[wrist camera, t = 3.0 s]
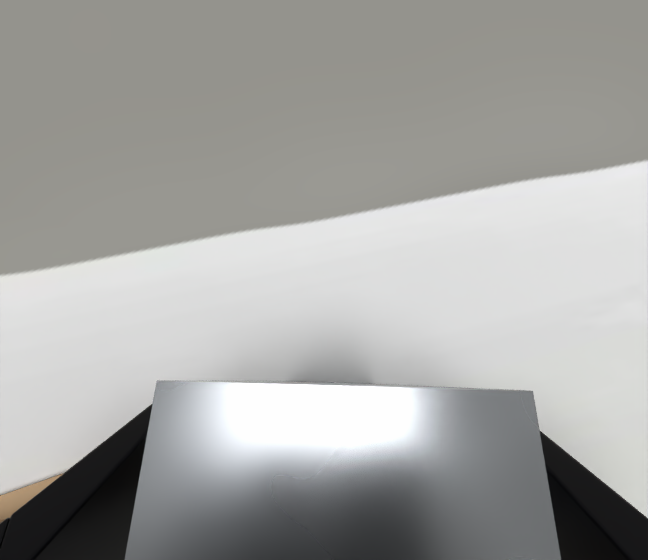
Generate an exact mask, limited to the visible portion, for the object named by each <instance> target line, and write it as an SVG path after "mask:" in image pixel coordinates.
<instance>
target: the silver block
mask: <svg viewBox="0 0 648 560" xmlns="http://www.w3.org/2000/svg"><path fill="white" fill-rule="evenodd" d="M125 560H561V556H560V550H559V544H558V538H557V532H556V526H555V520H554V514H553V508H552V502H551V496H550V490H549V484H548V478H547V473H546V467H545V461H544V455H543V449H542V443H541V437H540V431H539V425H538V419H537V413H536V407H535V401H534V395H533V391H524V390H502V389H480V388H457V387H435V386H412V385H390V384H362V383H326V382H289V381H157V383H156V388H155V394H154V399H153V405H152V410H151V416H150V421H149V427H148V432H147V438H146V443H145V449H144V455H143V460H142V466H141V471H140V477H139V482H138V488H137V493H136V499H135V504H134V510H133V515H132V521H131V527H130V532H129V538H128V543H127V549H126V554H125Z"/></svg>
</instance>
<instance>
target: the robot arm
mask: <svg viewBox="0 0 648 560" xmlns="http://www.w3.org/2000/svg"><path fill="white" fill-rule="evenodd" d="M152 405H153V404H151V405H150V406H149V407H147V408H146V409H145V410H144V411H142V412H141V413H140V414H139V415H137V416H136V417H135V418H133V419H132V420H131V421H130V422H128V423H127V424H126V425H125V426H123V427H122V428H121V429H120V430H118V431H117V432H116V433H114V434H113V435H112V436H111V437H109V438H108V439H107V440H106V441H104V442H103V443H102V444H100V445H99V446H98V447H97V448H95V449H94V450H93V451H92V452H90V453H89V454H88V455H87V456H85V457H84V458H83V459H81V460H80V461H79V462H78V463H76V464H75V465H74V466H73V467H71V468H70V469H69V470H67V471H66V472H65V473H64V474H62V475H61V476H60V477H59V478H57V479H56V480H55V481H54V482H52V483H51V484H50V485H48V486H47V487H46V488H45V489H43V490H42V491H41V492H40V493H38V494H37V495H36V496H34V497H33V498H32V499H31V500H29V501H28V502H27V503H26V504H24V505H23V506H22V507H20V508H19V509H18V510H17V511H15V512H14V513H13V514H12V515H11V517H10V518H6V519H5V520H4V521H3V522H1V523H0V560H125V554H126V549H127V543H128V538H129V532H130V527H131V521H132V515H133V510H134V504H135V499H136V493H137V488H138V482H139V477H140V471H141V466H142V460H143V455H144V449H145V443H146V438H147V432H148V427H149V421H150V416H151V410H152ZM539 431H540V430H539ZM540 437H541V443H542V449H543V455H544V461H545V467H546V473H547V478H548V484H549V490H550V496H551V502H552V508H553V514H554V520H555V526H556V532H557V538H558V544H559V550H560V556H561V560H648V518H647V517H646V516H644V515H643V514H642V513H641V512H639V511H638V510H637V509H636V508H634V507H633V506H632V505H631V504H630V503H628V502H627V501H626V500H625V499H623V498H622V497H621V496H620V495H618V494H617V493H616V492H615V491H614V490H612V489H611V488H610V487H609V486H607V485H606V484H605V483H604V482H602V481H601V480H600V479H599V478H598V477H596V476H595V475H594V474H593V473H591V472H590V471H589V470H588V469H586V468H585V467H584V466H583V465H582V464H580V463H579V462H578V461H577V460H575V459H574V458H573V457H572V456H570V455H569V454H568V453H567V452H566V451H564V450H563V449H562V448H561V447H559V446H558V445H557V444H556V443H555V442H553V441H552V440H551V439H550V438H548V437H547V436H546V435H545V434H543V433H542V432H541V431H540Z"/></svg>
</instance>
